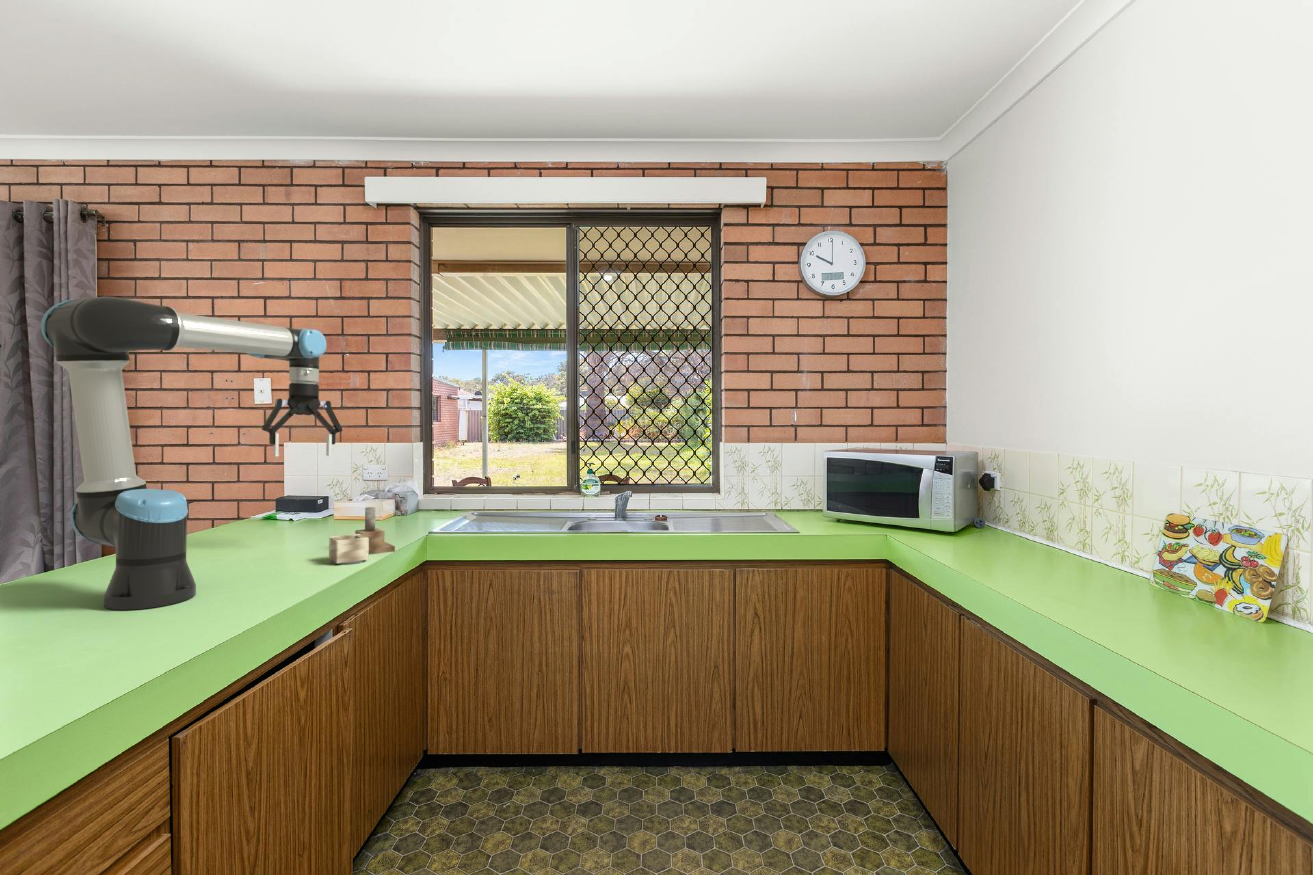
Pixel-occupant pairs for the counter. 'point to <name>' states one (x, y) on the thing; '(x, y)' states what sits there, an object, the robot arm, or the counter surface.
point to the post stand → (374, 534)
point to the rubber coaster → (347, 562)
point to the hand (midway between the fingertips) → (303, 456)
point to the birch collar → (348, 548)
